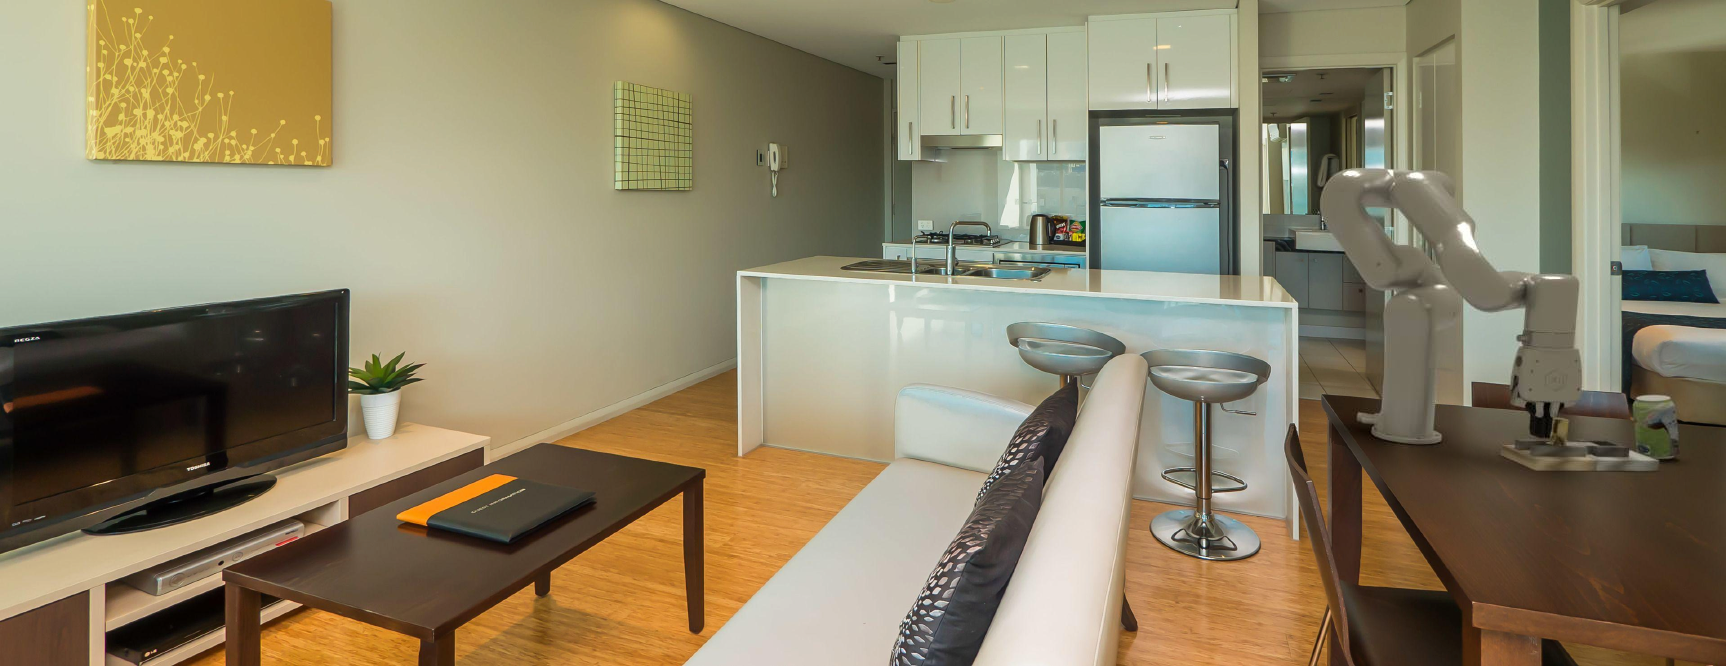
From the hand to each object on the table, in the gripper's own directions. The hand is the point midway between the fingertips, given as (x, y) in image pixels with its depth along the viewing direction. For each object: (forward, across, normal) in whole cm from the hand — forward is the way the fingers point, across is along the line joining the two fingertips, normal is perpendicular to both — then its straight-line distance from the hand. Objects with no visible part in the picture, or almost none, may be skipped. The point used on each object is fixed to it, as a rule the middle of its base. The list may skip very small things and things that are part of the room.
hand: (1539, 436), depth 161 cm
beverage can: (+6, +24, +5) cm, 25 cm away
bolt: (+3, +6, 0) cm, 7 cm away
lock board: (+5, +7, 0) cm, 9 cm away
